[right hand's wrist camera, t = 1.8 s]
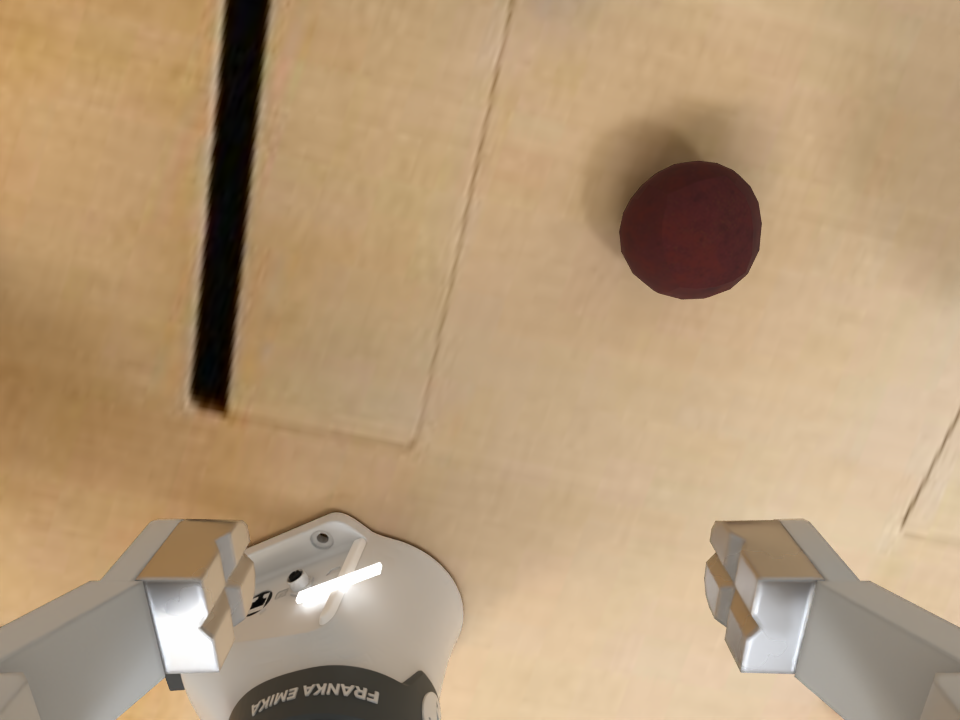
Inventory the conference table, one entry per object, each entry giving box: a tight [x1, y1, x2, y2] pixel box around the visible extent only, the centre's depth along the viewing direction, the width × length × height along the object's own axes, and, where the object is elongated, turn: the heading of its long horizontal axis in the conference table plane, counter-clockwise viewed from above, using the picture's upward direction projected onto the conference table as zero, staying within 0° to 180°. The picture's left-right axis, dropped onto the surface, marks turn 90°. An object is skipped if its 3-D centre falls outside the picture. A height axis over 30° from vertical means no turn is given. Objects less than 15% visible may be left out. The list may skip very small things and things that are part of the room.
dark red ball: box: [619, 161, 762, 299], centre depth 34 cm, size 7×8×7 cm
